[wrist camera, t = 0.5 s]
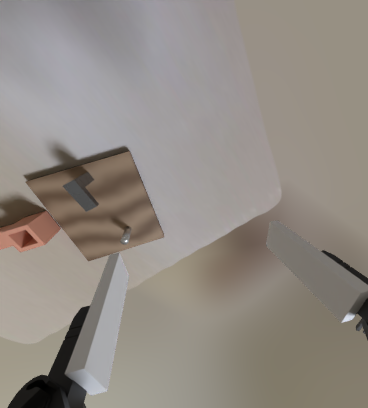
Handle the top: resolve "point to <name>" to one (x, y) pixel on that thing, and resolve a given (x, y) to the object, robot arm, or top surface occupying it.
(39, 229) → the link
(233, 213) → the top surface
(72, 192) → the bracket
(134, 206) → the board
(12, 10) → the top surface
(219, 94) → the top surface
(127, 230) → the peg
